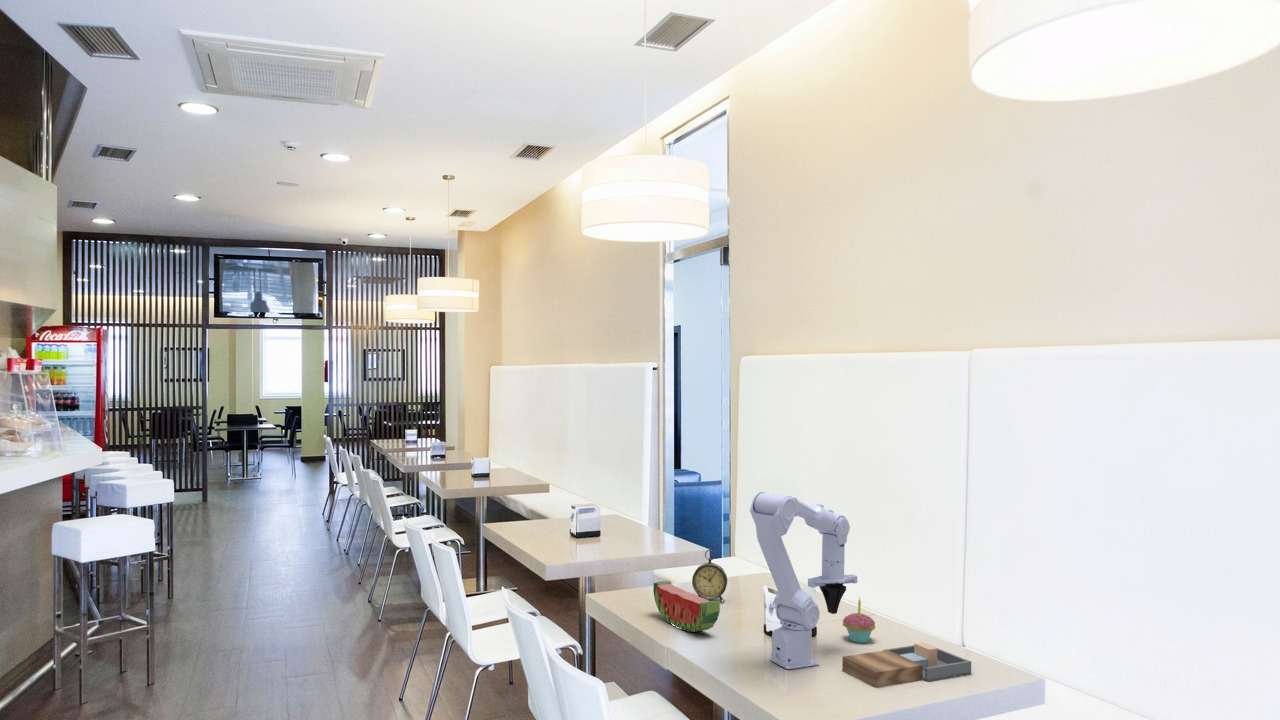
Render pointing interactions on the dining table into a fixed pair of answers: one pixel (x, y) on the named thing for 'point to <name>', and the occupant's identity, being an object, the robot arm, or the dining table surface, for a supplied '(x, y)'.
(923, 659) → the pale blue block
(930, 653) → the tile sand
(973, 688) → the dining table surface
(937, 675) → the tray
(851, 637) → the cupcake
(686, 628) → the fruit slice
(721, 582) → the alarm clock
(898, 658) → the bench board
